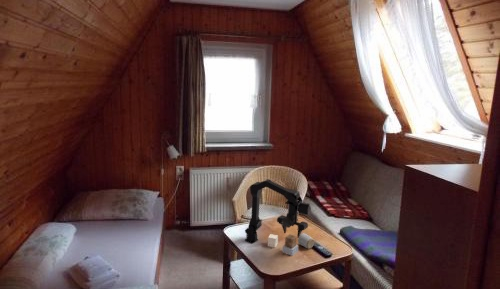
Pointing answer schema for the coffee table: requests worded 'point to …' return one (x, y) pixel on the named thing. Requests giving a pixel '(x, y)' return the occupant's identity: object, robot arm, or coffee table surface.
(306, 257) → the coffee table surface
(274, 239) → the cream block
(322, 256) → the coffee table surface
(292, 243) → the walnut block
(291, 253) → the light gray block
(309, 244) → the ceramic mug
